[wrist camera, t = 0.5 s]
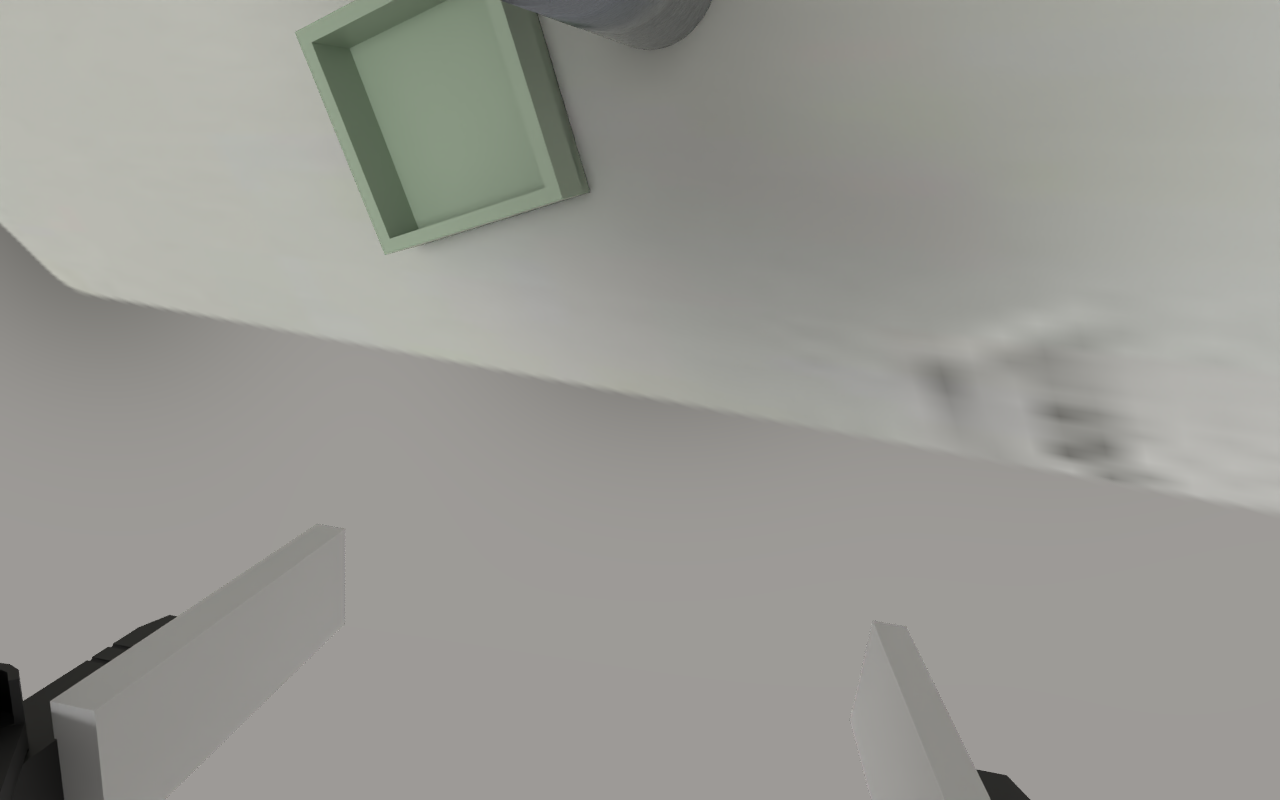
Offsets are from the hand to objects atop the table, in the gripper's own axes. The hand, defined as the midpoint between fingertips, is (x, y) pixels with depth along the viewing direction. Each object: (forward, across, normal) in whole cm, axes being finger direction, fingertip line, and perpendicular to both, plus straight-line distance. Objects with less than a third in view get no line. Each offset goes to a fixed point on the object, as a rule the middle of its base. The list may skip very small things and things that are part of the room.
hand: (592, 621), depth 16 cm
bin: (+26, -15, +15) cm, 33 cm away
